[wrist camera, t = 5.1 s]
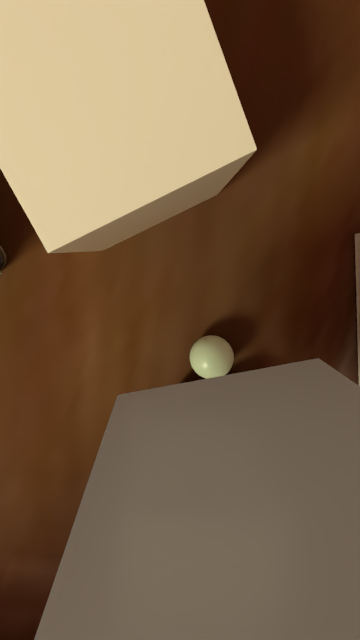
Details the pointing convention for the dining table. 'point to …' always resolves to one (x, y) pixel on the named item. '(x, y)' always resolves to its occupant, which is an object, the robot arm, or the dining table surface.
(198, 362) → the green marble
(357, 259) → the mat
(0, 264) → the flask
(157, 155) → the beige rectangular block
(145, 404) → the pale sage cube
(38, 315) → the dining table surface
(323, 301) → the dining table surface
